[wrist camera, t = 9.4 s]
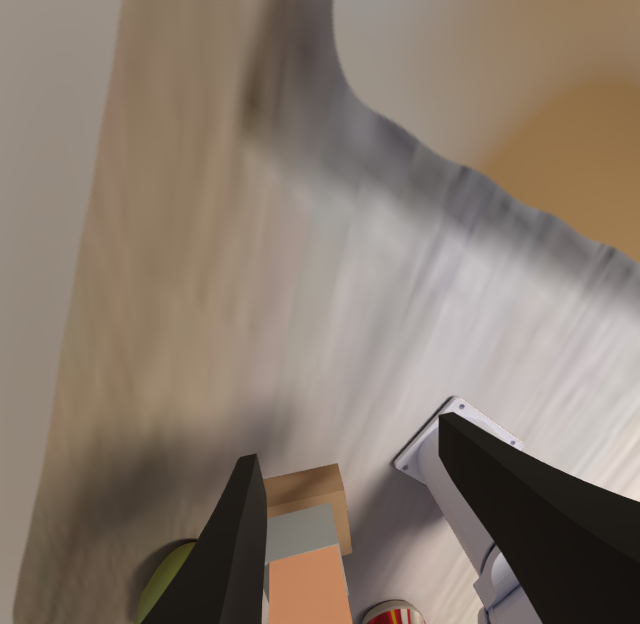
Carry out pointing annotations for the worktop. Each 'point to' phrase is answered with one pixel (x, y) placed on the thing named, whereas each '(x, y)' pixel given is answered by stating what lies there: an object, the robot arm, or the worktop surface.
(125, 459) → the worktop surface
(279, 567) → the terracotta cube
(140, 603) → the pear
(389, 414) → the worktop surface
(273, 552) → the slate block
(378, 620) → the soda can
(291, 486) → the walnut base
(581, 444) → the worktop surface
